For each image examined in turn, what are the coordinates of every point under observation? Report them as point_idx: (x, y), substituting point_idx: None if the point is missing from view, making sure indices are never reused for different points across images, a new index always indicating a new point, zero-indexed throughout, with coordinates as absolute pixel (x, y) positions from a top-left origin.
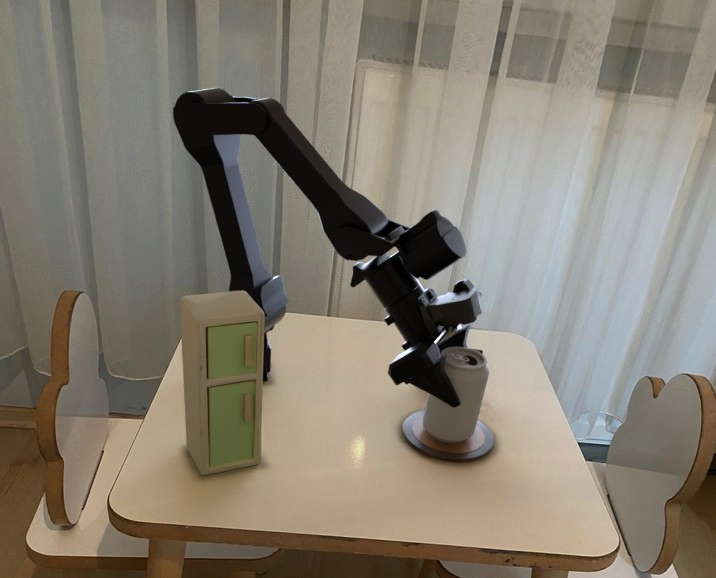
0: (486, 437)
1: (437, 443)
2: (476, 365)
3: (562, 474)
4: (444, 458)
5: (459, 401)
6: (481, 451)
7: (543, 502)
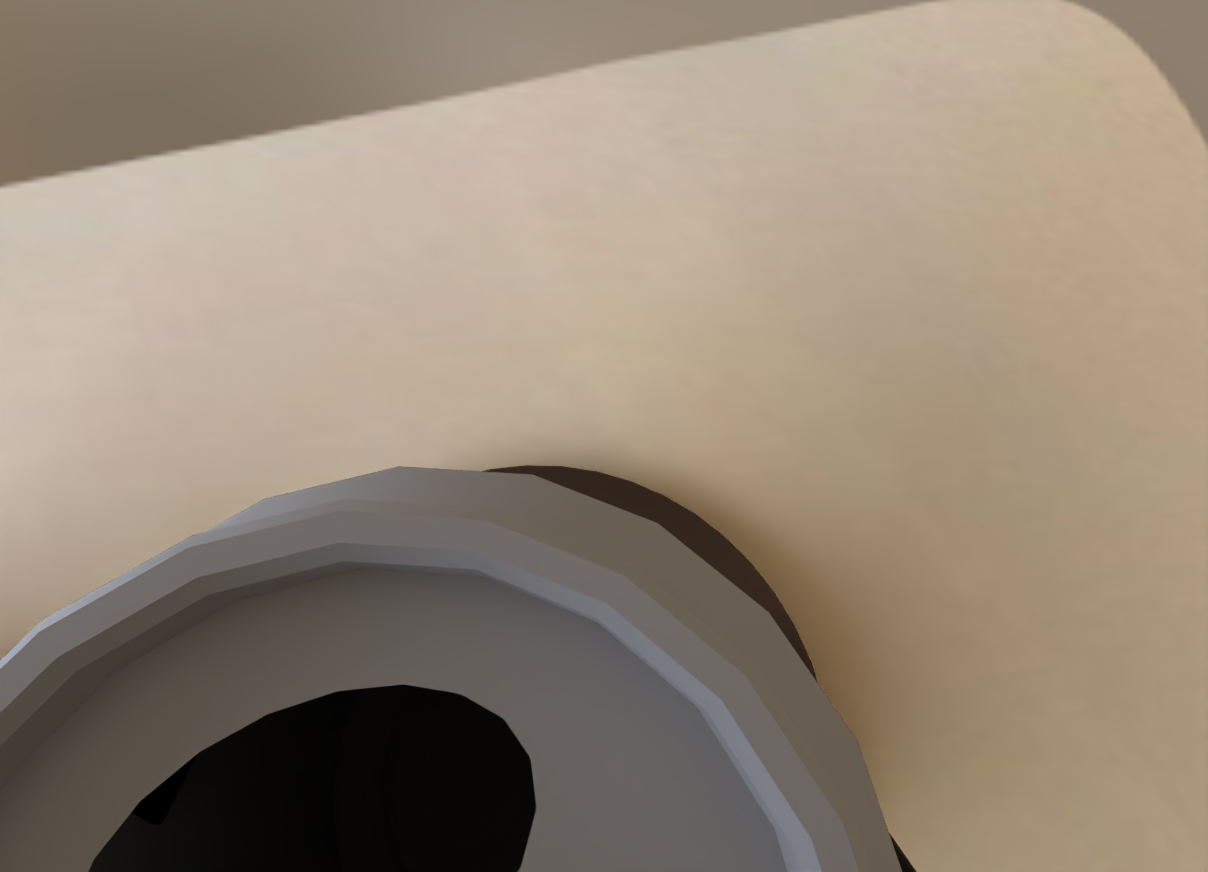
0: None
1: None
2: (490, 695)
3: (652, 142)
4: None
5: None
6: (662, 521)
7: (917, 211)
